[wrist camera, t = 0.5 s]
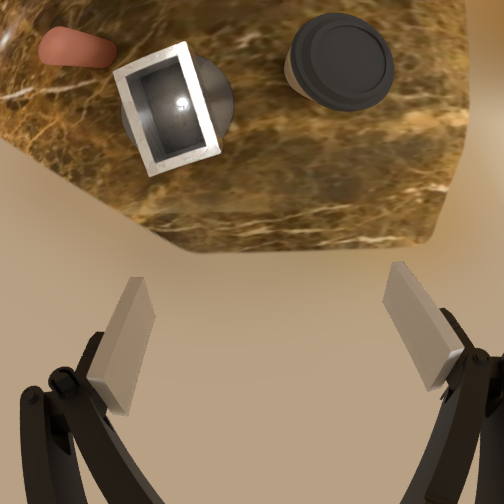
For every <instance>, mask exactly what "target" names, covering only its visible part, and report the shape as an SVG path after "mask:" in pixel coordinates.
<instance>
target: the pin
mask: <svg viewBox="0 0 504 504" xmlns="http://www.w3.org/2000/svg"><path fill="white" fill-rule="evenodd" d="M38 53H39V58H40V60H41V61H42V62H43V63H44V64H47V65H67V66H81V67H92V68H106V67H108V66H109V65H111V64H112V63H113V62H114V60H115V58H116V56H117V46H116V44H115V43H114V42H112V41H110V40H107V39H104V38H100V37H97V36H94V35H91V34H87V33H84V32H80V31H77V30H73V29H69V28H65V27H55V28H53V29H51V30H50V31H48V32H47V33H46V34H45V36H44V37H43V38H42V40H41V42H40V45H39V51H38Z"/></svg>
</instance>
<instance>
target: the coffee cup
mask: <svg viewBox="0 0 504 504" xmlns="http://www.w3.org/2000/svg"><path fill="white" fill-rule="evenodd" d="M284 73H285V77H286V79H287V81H288V83H289V85H290V86H291V87H292V88H293V89H294V90H295V91H297V92H298V93H300V94H301V95H303V96H305V97H307V98H309V99H311V100H313V101H315V102H317V103H319V104H321V105H323V106H325V107H327V108H330V109H333V110H337V111H357V110H362V109H366V108H369V107H372V106H374V105H376V104H377V103H379V102H380V101H381V100H382V99H383V98H384V97H385V96H386V95H387V93H388V92H389V90H390V88H391V85H392V82H393V78H394V62H393V57H392V54H391V51H390V49H389V47H388V45H387V43H386V41H385V40H384V38H383V37H382V36H381V35H380V33H379V32H378V31H377V30H376V29H375V28H373V27H372V26H371V25H370V24H368V23H367V22H365V21H363V20H362V19H360V18H357V17H355V16H352V15H349V14H344V13H327V14H323V15H320V16H317V17H315V18H313V19H311V20H310V21H308V22H307V23H305V24H304V25H303V26H302V27H301V28H300V29H299V30H298V32H297V33H296V35H295V37H294V39H293V42H292V45H291V47H290V49H289V52H288V54H287V56H286V60H285V64H284Z"/></svg>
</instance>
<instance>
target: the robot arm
mask: <svg viewBox="0 0 504 504" xmlns="http://www.w3.org/2000/svg"><path fill="white" fill-rule="evenodd" d="M383 304H384V306H385V308H386V309H387V311H388V313H389V315H390V316H391V319H392V320H393V322H394V324H395V326H396V328H397V330H398V332H399V334H400V336H401V338H402V339H403V341H404V343H405V345H406V347H407V349H408V351H409V353H410V355H411V357H412V359H413V362H414V364H415V366H416V368H417V370H418V372H419V374H420V376H421V378H422V380H423V382H424V385H425V387H426V389H427V391H432V390H435V389H439V388H441V387H442V385H443V384H444V382H445V380H446V381H447V383H448V385H449V386H448V387H447V389H446V390H445V392H444V393H443V395H442V396H441V398H440V400H442V399H443V397H444V399H443V402H442V405H441V408H440V411H439V414H438V417H437V420H436V423H435V426H434V429H433V431H432V434H431V437H430V439H429V442H428V445H427V447H426V449H425V452H424V454H423V457H422V459H421V461H420V464H419V466H418V468H417V470H416V473H415V475H414V477H413V479H412V481H411V483H410V485H409V487H408V489H407V491H406V493H405V495H404V497H403V499H402V500H401V502H400V504H457V503H458V500H459V497H460V495H461V492H462V490H463V487H464V484H465V481H466V478H467V476H468V473H469V470H470V466H471V463H472V460H473V457H474V453H475V449H476V446H477V442H478V438H479V434H480V458H479V472H478V473H479V474H478V482H477V491H476V499H475V504H504V353H503V355H502V357H490V356H489V354H488V353H487V352H486V351H484V350H483V349H480V348H475V347H474V346H473V344H472V342H471V341H470V339H469V338H468V337H467V335H466V333H465V332H464V330H463V329H462V328H461V326H460V325H459V323H458V322H457V320H456V319H455V317H454V316H453V315H452V313H450V312H449V311H448V310H446V309H445V308H438V307H437V305H436V304H435V303H434V301H433V300H432V298H431V297H430V296H429V294H428V293H427V291H426V290H425V289H424V287H423V286H422V285H421V283H420V282H419V281H418V279H417V278H416V277H415V275H414V274H413V273H412V271H411V270H410V269H409V267H408V266H407V265H406V264H405V262H404V261H400V262H392V264H391V268H390V273H389V278H388V282H387V286H386V290H385V294H384V298H383ZM155 317H156V316H155V314H154V310H153V307H152V304H151V300H150V297H149V294H148V290H147V287H146V283H145V280H144V277H131V278H130V280H129V282H128V284H127V286H126V288H125V290H124V292H123V294H122V296H121V298H120V300H119V302H118V304H117V306H116V309H115V311H114V313H113V315H112V317H111V319H110V322H109V324H108V326H107V328H106V331H105V332H96V333H95V334H94V335H93V336H92V337H91V338H90V339H89V342H88V344H87V346H86V349H85V350H84V352H83V356H82V357H81V359H80V361H79V364H78V366H77V369H76V371H75V372H74V370H73V369H72V368H70V367H60V368H57V369H56V370H55V371H53V372H52V374H51V375H50V377H49V380H48V384H49V387H50V388H51V389H52V391H51V392H43V391H42V390H41V388H40V387H38V386H30V387H28V388H27V389H25V390H24V391H23V393H22V395H21V398H20V440H21V456H22V467H23V476H24V484H25V491H26V497H27V503H28V504H88V503H87V499H86V496H85V492H84V488H83V484H82V480H81V476H80V471H79V467H78V462H77V457H76V452H75V447H74V441H73V437H74V439H75V441H76V443H77V445H78V448H79V450H80V452H81V454H82V456H83V458H84V460H85V462H86V464H87V466H88V468H89V470H90V472H91V474H92V476H93V478H94V479H95V481H96V483H97V485H98V487H99V488H100V490H101V492H102V494H103V495H104V497H105V499H106V500H107V502H108V504H165V503H164V502H163V501H162V499H161V498H160V497H159V495H158V494H157V493H156V491H155V490H154V489H153V487H152V486H151V485H150V483H149V482H148V481H147V479H146V478H145V476H144V475H143V474H142V472H141V471H140V469H139V468H138V466H137V465H136V463H135V462H134V460H133V459H132V457H131V456H130V454H129V453H128V451H127V449H126V448H125V446H124V445H123V443H122V441H121V440H120V438H119V436H118V435H117V433H116V431H115V430H114V428H113V426H112V424H111V423H110V421H109V419H108V417H107V416H106V411H107V408H108V409H109V410H110V412H111V413H112V414H114V415H121V416H128V414H129V410H130V406H131V402H132V398H133V394H134V390H135V387H136V383H137V379H138V375H139V372H140V368H141V364H142V361H143V357H144V354H145V350H146V347H147V343H148V340H149V337H150V333H151V330H152V327H153V323H154V320H155ZM72 434H73V435H72Z"/></svg>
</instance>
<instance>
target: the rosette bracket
mask: <svg viewBox="0 0 504 504" xmlns="http://www.w3.org/2000/svg"><path fill="white" fill-rule="evenodd" d="M113 74H114V78H115V81H116V84H117V87H118V90H119V93H120V97H121V100H122V106H121V115H122V122H123V126H124V129H125V131H126V133H127V135H128V137H129V139H130V140H131V141H132V143H133V144H134V145H135V146H136V147H137V148H138V149H139V151H140V154H141V157H142V159H143V162H144V165H145V167H146V170H147V173H148V175H149V177H151V176H154V175H157V174H159V173H162V172H165V171H168V170H171V169H174V168H177V167H180V166H183V165H186V164H189V163H192V162H195V161H198V160H201V159H204V158H208V157H211V156H214V155H217V154H221V153H222V150H223V147H224V144H223V141H222V138H223V136H224V135H225V133H226V132H227V130H228V128H229V126H230V123H231V120H232V116H233V111H234V99H233V93H232V89H231V86H230V84H229V82H228V80H227V78H226V76H225V75H224V74H223V73H222V71H221V70H220V69H219V68H218V67H217V66H216V65H215V64H213V63H212V62H210V61H209V60H207V59H205V58H203V57H201V56H198V55H195V53H194V49H193V48H192V47H191V46H190V45H189V44H188V43H187V42H186V41H184V42H181V43H179V44H176V45H173V46H170V47H168V48H165V49H163V50H160V51H158V52H155V53H153V54H150V55H148V56H145V57H143V58H141V59H138V60H136V61H134V62H132V63H130V64H127V65H125V66H123V67H121V68H119V69H117V70H115V71H113Z"/></svg>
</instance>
